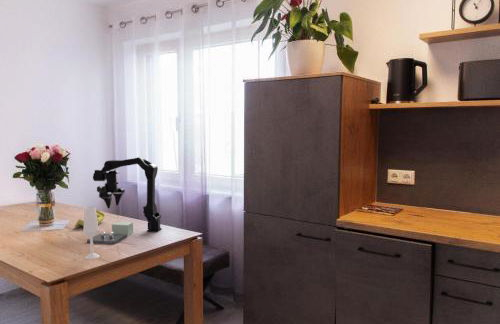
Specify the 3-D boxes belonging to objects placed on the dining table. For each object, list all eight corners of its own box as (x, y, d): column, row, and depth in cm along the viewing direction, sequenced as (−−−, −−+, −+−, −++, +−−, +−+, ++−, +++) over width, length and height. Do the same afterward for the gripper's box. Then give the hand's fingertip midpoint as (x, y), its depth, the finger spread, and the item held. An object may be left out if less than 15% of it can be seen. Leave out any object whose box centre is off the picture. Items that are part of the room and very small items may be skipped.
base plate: (126, 237, 217) (126, 229, 216) (114, 244, 204) (113, 236, 204) (100, 235, 220) (100, 228, 219) (87, 242, 207) (86, 234, 207)
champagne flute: (97, 258, 182) (95, 208, 180) (82, 259, 181) (80, 209, 179) (101, 254, 189) (99, 205, 186) (87, 254, 188) (85, 206, 186)
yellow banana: (91, 225, 234) (77, 218, 235) (87, 235, 236) (73, 228, 237) (108, 215, 254) (95, 208, 254) (104, 224, 255) (91, 218, 256)
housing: (133, 232, 226) (133, 222, 226) (128, 235, 220) (127, 225, 220) (117, 231, 228) (117, 221, 228) (112, 234, 222) (111, 224, 222)
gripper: (108, 178, 242) (109, 203, 244) (90, 183, 224) (91, 209, 226) (124, 179, 240) (125, 203, 241) (107, 183, 222) (108, 210, 223)
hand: (113, 206), depth 233 cm, fingers open, 9 cm apart
